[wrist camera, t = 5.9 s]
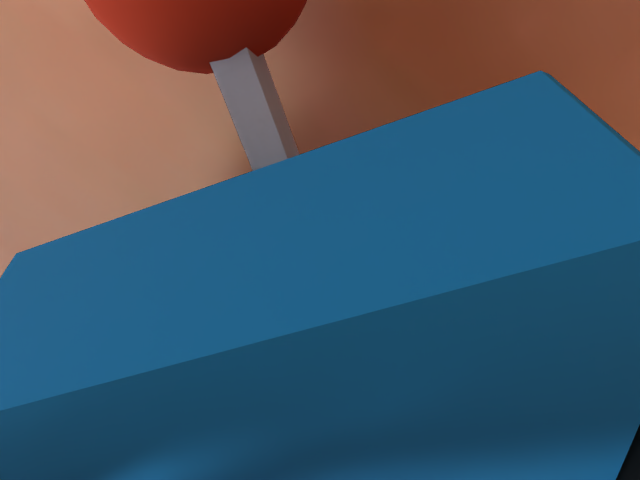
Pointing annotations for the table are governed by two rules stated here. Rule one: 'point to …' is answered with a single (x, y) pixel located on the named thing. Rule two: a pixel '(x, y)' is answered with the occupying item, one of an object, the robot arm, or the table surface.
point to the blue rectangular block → (338, 293)
